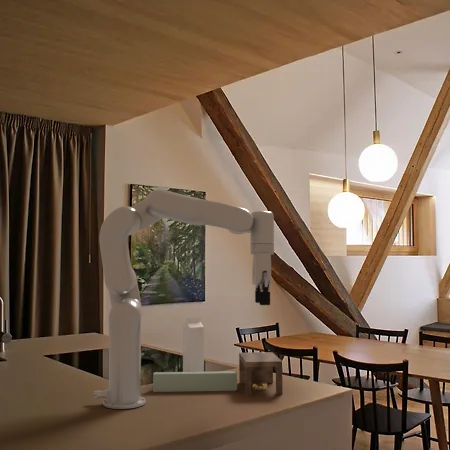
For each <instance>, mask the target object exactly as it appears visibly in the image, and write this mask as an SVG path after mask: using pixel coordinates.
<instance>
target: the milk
mask: <svg viewBox="0 0 450 450" xmlns="http://www.w3.org/2000/svg"><path fill="white" fill-rule="evenodd" d="M185 321H186V322H185V323H184V325H183V327H182V346H183V347H182V372H205V326H204V325H203V323H202V318H201V317H188V318H186V319H185Z"/></svg>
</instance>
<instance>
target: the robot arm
mask: <svg viewBox="0 0 450 450" xmlns="http://www.w3.org/2000/svg"><path fill="white" fill-rule="evenodd" d="M274 216H275V215H274V213H273V212H272V211H267V210H257V211H253V212H250V211H249V210H248V209H246V208H243V207H240V206H236V205H232V204H227V203H222V202H219V201H212V200H207V199H202V198H197V197H194V196H189V195H186V194H181V193H178V192H174V191H170V190H166V189H154V190H151V192H149V193H148V195H147V197H146V198H145V199H143V200H141V201H139V202H137V203H136V204H134V205H133V206H128V205H123V206H119V207H117V208H116V209H114V210H112V212H110V213H109V214H108V215H107V216H106V217H105V218H104V220H103V222H102V224H101V226H100V230H99V248H100V249H99V250H100V255H101V263H102V270H103V276H104V277H103V278H104V279H103V281H104V284H105V288H106V289H107V290H108V295H109V301H110V304H111V307H110V310H109V315H108V332H109V333H108V338H109V340H108V341H109V342H108V343H109V345H108V353H109V354H108V355H109V357H108V361H109V362H108V366H109V367H108V388H107V389H105V390H94V391H93V398H96V399H103V401H102V402H103V403H102V405H103V407H105V408H108V409H114V410H127V409H134V408H135V409H136V408H140V407H142V406H143V405H145V404H146V398H145V397H143V396H141V389H142V388H141V386H142V385H141V383H142V382H141V375H142V373H141V372H142V371H141V369H142V368H141V367H142V366H141V365H142V364H141V363H142V357H141V356H142V316H143V306H142V302H141V301H142V300H141V297H140V289H139V284H138V280H137V274H136V272H135V270H134V269H133V267H132V262H131V257H130V249H129V243H128V237H129V236H132V235H135V234H138V233H139V232H141V231H142V230H143V231H144V230H145V229H146V228H149V227H150V226H151V225H154V224H156V223H158V222H159V221H160V220H162V219H167V220H171V221H176V222H181V223H184V224H189V225H192V226H210V227H217V228H221V229H225V230H227V231H229V232H230V233H232V234H234V235H243V234H250V235H249V236H250V243H249V244H250V255H253V257H252V273H251V274H252V278H251V283H252V285H253V286H255V290H254V297H255V298H254V302H255V303H256V304H259V305H260V306H270V305H271V292H270V291H271V288H270V286H271V283H272V259H271V258H272V255H274V254H275V226H274V225H275V218H274Z"/></svg>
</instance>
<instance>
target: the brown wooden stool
mask: <svg viewBox="0 0 450 450" xmlns="http://www.w3.org/2000/svg"><path fill="white" fill-rule="evenodd" d="M238 358H239V359H238V364H239V365H238V366H239V367H238V377H239V379H238V380H239V381H238V383H239V384H241V385H242V384H243V383H245V384H244V395H245V396H252V384H253V383H256V382H263V383H267V384H273V383H274V367H275V394H276V395H280V396H283V393H284V392H283V361H282V359H280V358H279V357H278V356H277V355H276V354H275V353H274V352H273V351H266V352H265V351H264V352H262V351H261V352H257V351H256V352H238Z"/></svg>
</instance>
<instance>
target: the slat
mask: <svg viewBox="0 0 450 450" xmlns="http://www.w3.org/2000/svg"><path fill="white" fill-rule="evenodd" d="M152 375H153V378H152V393H154V392H155V393H156V392H157V393H158V392H160V393H161V392H163V393H164V392H167V393H168V392H169V393H170V392H219V391H220V392H221V391H222V392H226V391H228V392H231V391H236V390H237V391H238V373H237V371H236V370H235V371H234V370H233V371H232V370H230V371H226V370H225V371H222V370H221V371H204V372H183V371H164V372H163V371H159V372H158V371H157V372H154V371H153V374H152Z"/></svg>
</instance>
